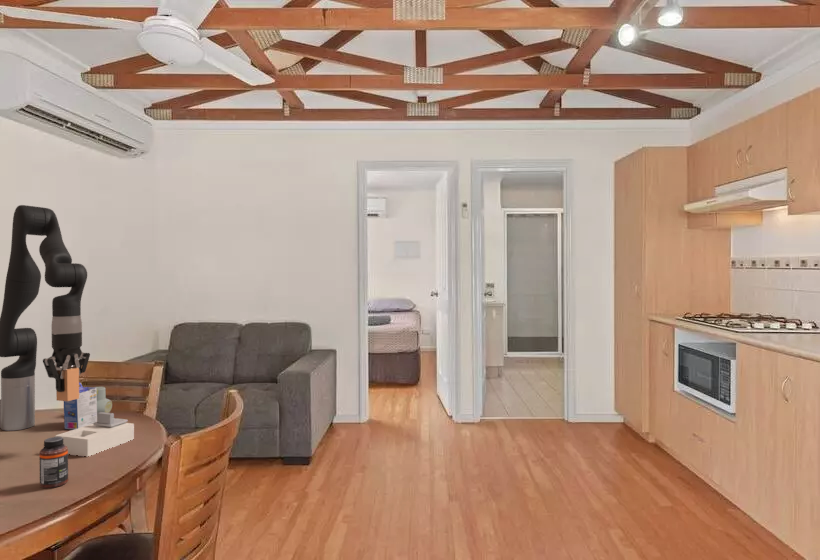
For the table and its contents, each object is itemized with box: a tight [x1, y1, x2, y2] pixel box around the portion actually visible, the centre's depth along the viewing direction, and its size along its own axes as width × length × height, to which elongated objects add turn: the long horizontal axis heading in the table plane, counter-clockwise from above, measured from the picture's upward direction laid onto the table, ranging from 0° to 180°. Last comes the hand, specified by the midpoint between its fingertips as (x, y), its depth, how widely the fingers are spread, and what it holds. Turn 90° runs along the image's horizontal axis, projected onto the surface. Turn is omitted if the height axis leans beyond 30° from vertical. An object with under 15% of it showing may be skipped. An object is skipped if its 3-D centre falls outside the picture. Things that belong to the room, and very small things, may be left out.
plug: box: [55, 366, 80, 402], centre depth 159 cm, size 4×4×11 cm
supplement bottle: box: [39, 436, 69, 489], centre depth 134 cm, size 6×6×11 cm
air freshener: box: [94, 386, 113, 413], centre depth 199 cm, size 11×8×10 cm
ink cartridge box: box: [63, 381, 97, 430], centre depth 186 cm, size 10×6×14 cm, turn 174°
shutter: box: [93, 412, 129, 427], centre depth 169 cm, size 7×6×4 cm
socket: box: [54, 422, 135, 458], centre depth 164 cm, size 12×17×5 cm
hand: (67, 389), depth 159 cm, fingers closed on plug, 3 cm apart
